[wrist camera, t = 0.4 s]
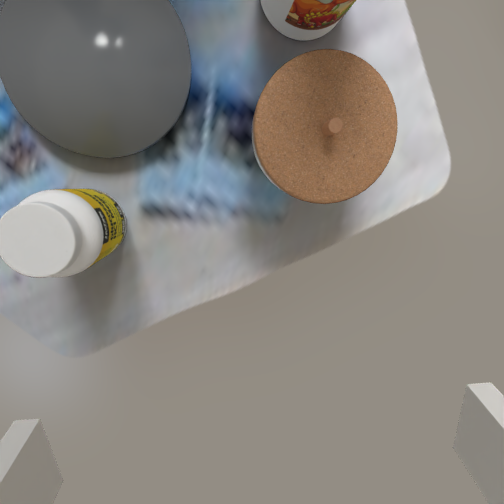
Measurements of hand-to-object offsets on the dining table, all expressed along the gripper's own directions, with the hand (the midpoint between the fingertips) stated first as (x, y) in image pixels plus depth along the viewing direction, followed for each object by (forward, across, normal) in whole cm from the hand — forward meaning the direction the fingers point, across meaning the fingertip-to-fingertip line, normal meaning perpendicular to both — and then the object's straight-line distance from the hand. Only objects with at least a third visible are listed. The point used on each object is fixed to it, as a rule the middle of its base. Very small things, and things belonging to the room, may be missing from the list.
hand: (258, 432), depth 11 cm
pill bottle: (+24, -14, 0) cm, 27 cm away
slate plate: (+26, -11, +13) cm, 31 cm away
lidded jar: (+26, +6, +6) cm, 28 cm away
